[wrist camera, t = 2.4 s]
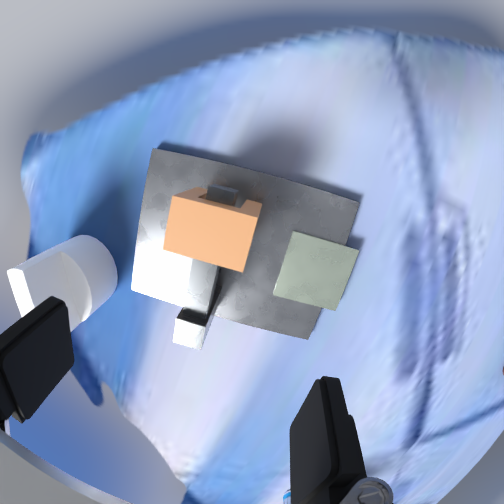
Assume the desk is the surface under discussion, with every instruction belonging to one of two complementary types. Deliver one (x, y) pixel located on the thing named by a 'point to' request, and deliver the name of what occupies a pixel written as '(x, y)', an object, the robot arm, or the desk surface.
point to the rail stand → (260, 254)
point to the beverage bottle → (287, 497)
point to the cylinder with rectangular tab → (67, 277)
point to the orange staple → (210, 229)
